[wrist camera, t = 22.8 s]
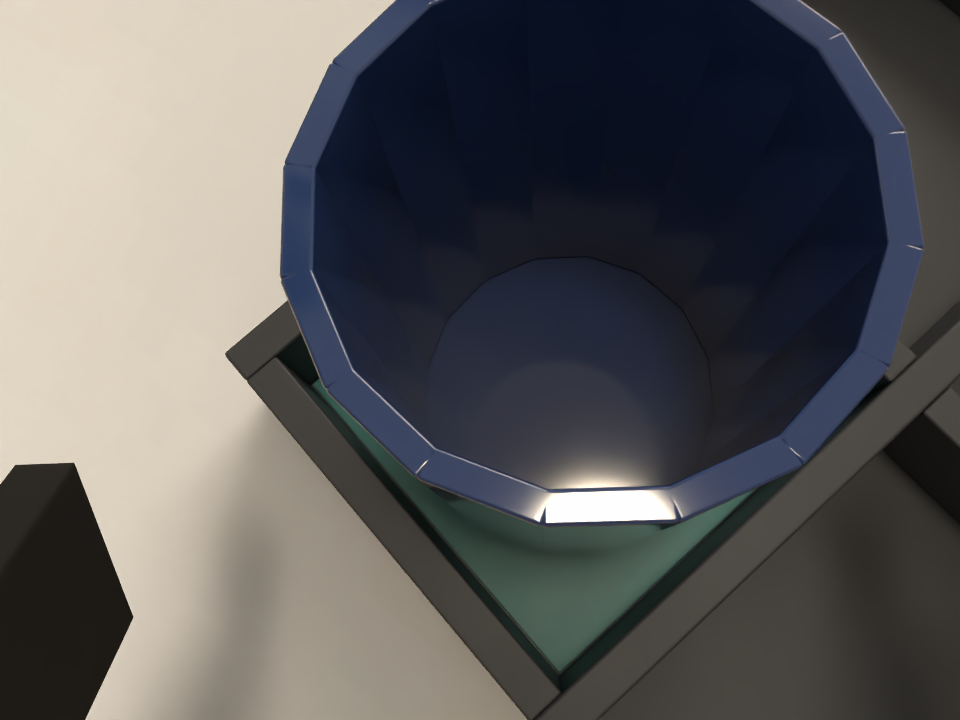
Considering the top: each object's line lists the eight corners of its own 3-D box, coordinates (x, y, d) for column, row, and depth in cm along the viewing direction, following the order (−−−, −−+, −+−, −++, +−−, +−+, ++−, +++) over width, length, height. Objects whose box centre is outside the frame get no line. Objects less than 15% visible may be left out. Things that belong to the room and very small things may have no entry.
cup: (415, 557, 20) (270, 534, 9) (413, 257, 22) (288, -47, 11) (737, 549, 20) (968, 514, 9) (709, 244, 21) (874, -89, 11)
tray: (272, 388, 22) (222, 353, 19) (838, -93, 24) (888, -206, 21) (884, 1117, 18) (969, 1250, 14) (1511, 447, 20) (1718, 419, 16)
